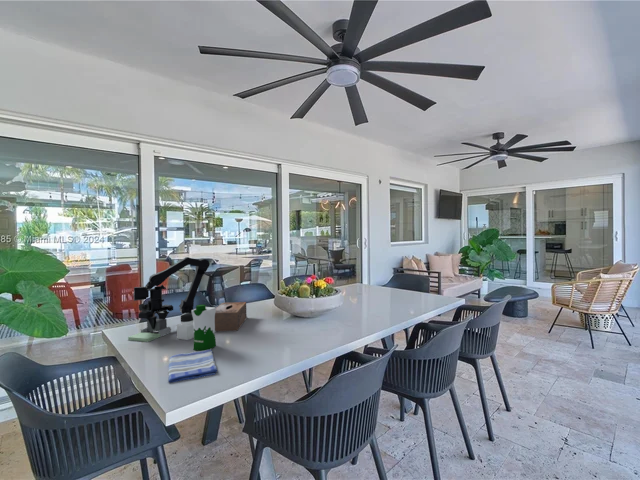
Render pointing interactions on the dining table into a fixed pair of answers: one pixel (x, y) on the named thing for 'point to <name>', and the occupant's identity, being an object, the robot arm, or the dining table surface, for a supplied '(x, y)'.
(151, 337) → the deck
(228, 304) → the tissue box cover
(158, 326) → the gray cuboid pillar
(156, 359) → the dining table surface
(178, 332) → the medicine bottle
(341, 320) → the dining table surface
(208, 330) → the milk carton
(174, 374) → the dish towel
